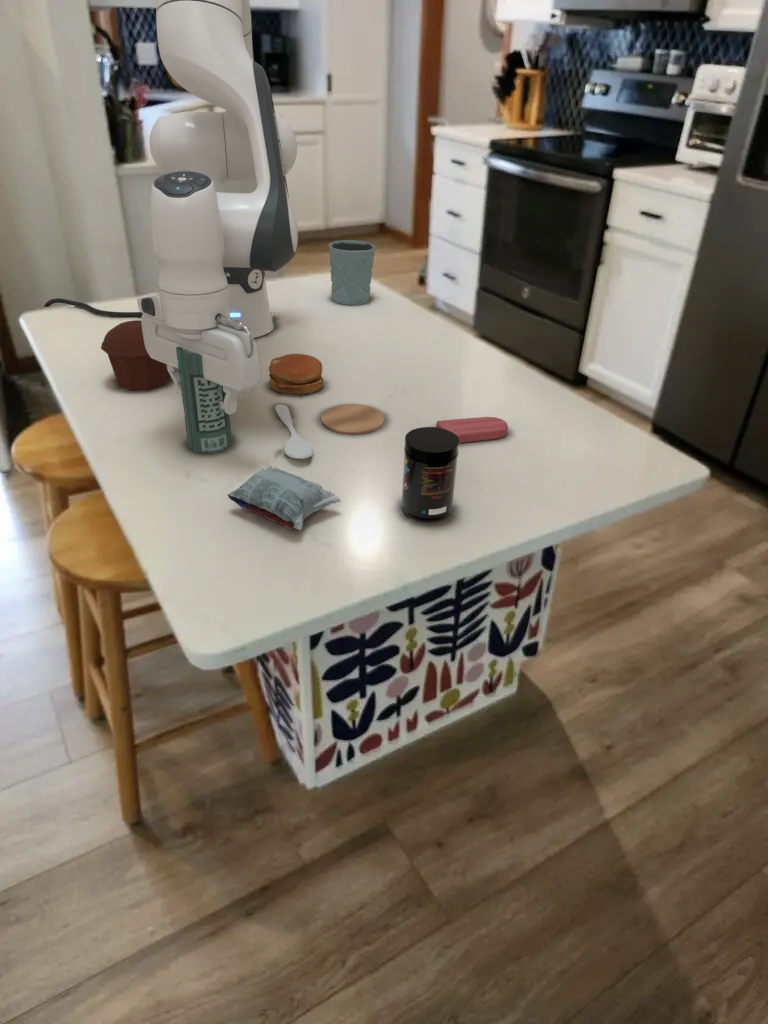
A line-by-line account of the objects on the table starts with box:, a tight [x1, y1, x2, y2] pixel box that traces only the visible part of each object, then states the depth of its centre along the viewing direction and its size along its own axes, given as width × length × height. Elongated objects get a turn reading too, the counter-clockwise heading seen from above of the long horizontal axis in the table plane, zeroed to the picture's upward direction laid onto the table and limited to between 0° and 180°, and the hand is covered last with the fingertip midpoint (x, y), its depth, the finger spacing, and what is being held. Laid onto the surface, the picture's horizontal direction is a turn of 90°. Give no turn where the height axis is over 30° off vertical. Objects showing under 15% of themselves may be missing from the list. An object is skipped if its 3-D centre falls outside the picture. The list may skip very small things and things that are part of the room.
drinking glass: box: [328, 239, 376, 306], centre depth 167 cm, size 10×10×12 cm
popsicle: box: [435, 416, 509, 444], centre depth 115 cm, size 5×2×15 cm
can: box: [176, 346, 233, 455], centre depth 106 cm, size 6×6×15 cm
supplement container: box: [401, 426, 460, 523], centre depth 94 cm, size 7×7×10 cm
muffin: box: [100, 319, 171, 391], centre depth 126 cm, size 12×11×10 cm
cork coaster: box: [320, 403, 385, 435], centre depth 118 cm, size 10×10×1 cm
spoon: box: [274, 404, 314, 460], centre depth 113 cm, size 4×21×2 cm, turn 16°
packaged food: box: [227, 464, 341, 532], centre depth 94 cm, size 9×12×5 cm
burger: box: [268, 353, 324, 395], centre depth 128 cm, size 10×9×5 cm
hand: (206, 402), depth 107 cm, fingers open, 8 cm apart
